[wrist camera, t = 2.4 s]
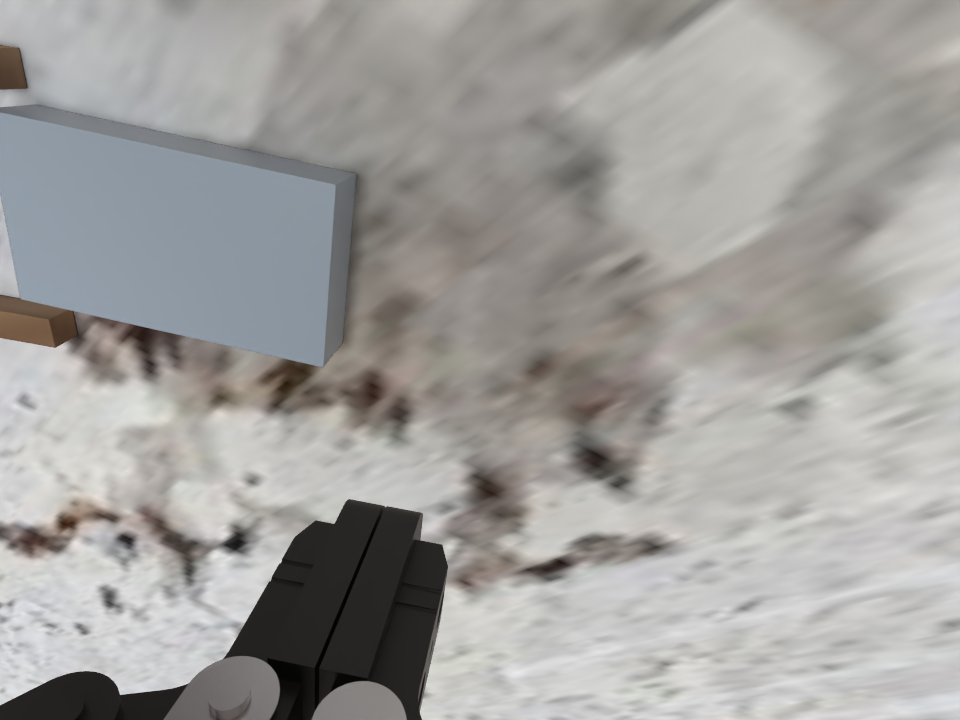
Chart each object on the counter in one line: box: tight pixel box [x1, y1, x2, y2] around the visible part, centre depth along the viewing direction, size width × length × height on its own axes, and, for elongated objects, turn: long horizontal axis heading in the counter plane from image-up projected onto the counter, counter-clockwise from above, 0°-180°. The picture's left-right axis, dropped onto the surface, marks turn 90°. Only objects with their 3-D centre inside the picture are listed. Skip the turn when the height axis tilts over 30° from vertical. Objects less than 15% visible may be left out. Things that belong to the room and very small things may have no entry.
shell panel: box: [0, 105, 356, 367], centre depth 26 cm, size 8×14×3 cm, turn 79°
